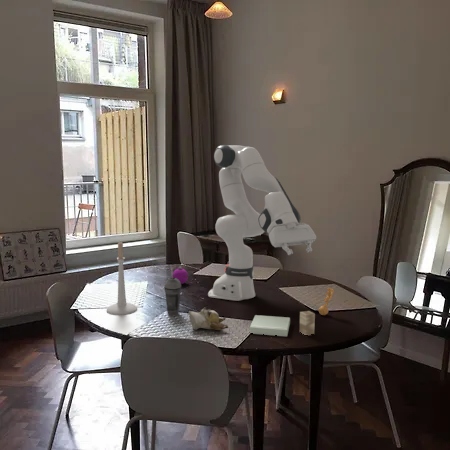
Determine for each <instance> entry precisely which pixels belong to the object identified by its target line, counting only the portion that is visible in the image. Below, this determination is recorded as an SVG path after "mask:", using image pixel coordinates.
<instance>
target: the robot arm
mask: <svg viewBox="0 0 450 450" xmlns="http://www.w3.org/2000/svg"><path fill="white" fill-rule="evenodd" d="M213 160H214V163H215V165H216V166H218V167H219V168H220V170H219V172H218V180H219V187H220V193H221V197H222V201H223V204H224V207H225V208H227V209H228V210H230V211H232V212H233V213H234V214H227V215H224V216H220V217H218V218H217V220H216V223H215V225H214V226H215V227H214V229H215V232H216V234H217V236H218V237H219V238H221V239H222V240H223V241H224V242H225V244H226V246H227V250H228V260H229V261H228V264H226V265H225V268H224V273H223V274H222V275H221V276H220V277H218V278H217V279H216V280H215V281H214V283H213V287H212V288H211V289H210V290H209V291H208V293H207V296H208V297H209V298H213V299H214V298H215V299H222V300H229V301H238V302H239V301H243V300H249V299H252V298H254V297H256V292H255V287H254V276H255V275H254V270H255V269H254V266H253V265H254V264H253V262H254V261H253V258H254V257H253V255H254V252H253V250H252V248H251V247H250V246H248V245H247V244H245V243H244V238H251V237H252V238H253V237H257V236H260V235H262V234H264V233H267V234H268V238H269V242H270V244H271V245H272V247H274V248H282V250H283V251H285V252H286V253H287V255H288V256H291V255H293V254H294V251H293V249H292V248H289V247H290V246H297V245H300V246H301V245H305V246H306V249H305V251H306V253H307V254H308V253H312V252H313V248H312V244H313V243H314V242H315V241H316V240H317V235H316V233H315V231H314V230H313V228H312V227H311V226H310V224H308V223H306V222H301V214H300V212H299V210H298V209H297V208H296V207H295V205H294V204H293V203H292V201H291V199H290V197H289V196H288V194H287V192H286V190H285V189H284V187H283V185H282V184H281V182H280V181H279V179H278V178H277V177H276V176H274V175H272V174H271V173H270V171H269V170H268V168H267V167H266V163H265V161H264V159H263V158H262V155H261V154H260V152H259V151H258V149H257V148H255V147H252V146H244V145H239V144H235V145H234V144H231V145H229V144H221V145H218V146H217V147H216V148H215V150H214V152H213ZM242 178H243V179H242ZM243 181H244V183H245V184H246V185H247V186H248V187H250V188H252V189H254V190H257V191H261V192H266V193H267V194H266V195H265V196H264V208H263V211H261V212H260V213H259V212H258V211H256V209H254V207H253V206H252V205H251V203H250V201H249V200H248V197H247V193H246V191H245V186H244V183H243Z"/></svg>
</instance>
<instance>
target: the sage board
mask: <svg viewBox="0 0 450 450" xmlns="http://www.w3.org/2000/svg"><path fill="white" fill-rule="evenodd" d="M290 325H291V317H288V316H287V317H284V316H274V315H273V316H272V315H257V314H255V315H254V317H253V319H252V322H251V324H250V325H249V334H250V333H253V335H263V334H264V335H265V336H266V335H267V336H275V335H277V337H288V334H289V329H290ZM264 335H263V336H264Z"/></svg>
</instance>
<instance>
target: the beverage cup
mask: <svg viewBox="0 0 450 450" xmlns="http://www.w3.org/2000/svg"><path fill="white" fill-rule="evenodd" d="M173 272H174V271H173V266H171V267H170V273H171V277H169V278H168V279H167V280H166V281H165V283H164V292H165V299H166V301H165V302H166V310H167V311H166V312H167V315H168V316H170V317H171V316H178V315H179V312H180V304H181V303H180V301H181V300H180V299H181V291H182V284H181V283H180V281H179V280H178V279H177V278H173Z"/></svg>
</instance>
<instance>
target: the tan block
mask: <svg viewBox="0 0 450 450" xmlns="http://www.w3.org/2000/svg"><path fill="white" fill-rule="evenodd" d="M315 319H316V314H315V313H314V312H312V311H310V310H305V311H299V333H300V332H301V333H302V335H303V334H304V335H308V336H312V335H311V334H314V335H315V327H316V326H315ZM301 333H300V334H301ZM304 335H303V336H304Z"/></svg>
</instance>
